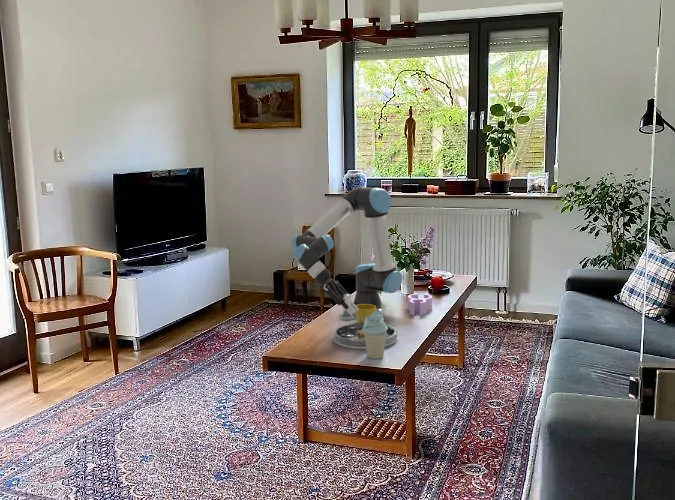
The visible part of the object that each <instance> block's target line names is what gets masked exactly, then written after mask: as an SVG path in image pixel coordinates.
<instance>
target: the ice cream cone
mask: <svg viewBox="0 0 675 500" xmlns="http://www.w3.org/2000/svg"><path fill="white" fill-rule="evenodd" d="M384 320H385V319H384V316H383V317H382V314H381V312H380V310H378V309H377V312H373V313H372V314H370V315H369V316H368V318H367V321H368V323H365V326H363V329H362V331H364V336H365V342H366V348H367V350H366V354H367V358H368V359H372V360H377V359H382V358H384V357H385V355H384V354H385V348H386V347H385V342H386V330H387V329H388V327H387V326H386V325H387V324H386V322H385V321H384Z"/></svg>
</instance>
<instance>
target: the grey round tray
mask: <svg viewBox="0 0 675 500" xmlns="http://www.w3.org/2000/svg"><path fill="white" fill-rule="evenodd" d="M378 310H380V312H381V314H382V317H383V318H384V309H383V308H380V309H378ZM375 312H377V309H375ZM367 318H368V317H365V318H364V323H357V322H356V323H355V322H353V323H348V324H343V325H341V326H338V327H336V328H335V329H334V331H333V332H332V333H333V342H334V343H335V344H336V345H337V346H340V347H343V348H346V349H350V350H360V351H361V350H363V351H364V350H365V351H367V348H366V342H365V336H364V331H362V329H363V326H365V323H368V321H367ZM385 325H386V326H387V327H388V329H387V330H386V342H385V347H384V348H388V347H390V346H393V345H394V344H396V343H397V341H398V330H397V328H396V327H393V326H391V325H390V324H385Z"/></svg>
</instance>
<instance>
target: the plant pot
mask: <svg viewBox="0 0 675 500" xmlns="http://www.w3.org/2000/svg"><path fill="white" fill-rule="evenodd" d="M356 306H357V308H358V309H359V310H358V311H356V312H355V313H354V315H355V319H356V323H364V318H365V317H368V316H369V315H370V314H372V313H373V312H375V309H376V306H375V305H371V304H359V305H356Z"/></svg>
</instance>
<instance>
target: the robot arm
mask: <svg viewBox="0 0 675 500" xmlns="http://www.w3.org/2000/svg"><path fill="white" fill-rule="evenodd" d="M391 197H392V196H391V195H390V193H389V192H388V191H387V190H386V189H384V188H380V187H365V186H360V187H356V188H354V189H352V190H350V191H349V192H347V193H345V194H344V195H343V196H342V197H341V198H340V199H338V202H337V204H336V205H335V206H333V207H332V208H331V209H330V210H329V211H327V213H325V214H324V215H323V216H322V217H321V218H319V219H318V220H317V221H316V222H315V223H313V225H312V226H310V227H309V228H308V229H307V230H305V232H304V233H302V234H295V235H294V236H293V237H292V239H291V246H292V249H294V251H293V252H292V255H293V257H294V258H295V259H296V261H297V262H298V263H299V264H300V265H301V267H302V268H303V269H304V270H306V272H307V273H308V274H309V276H311V277H312V278H313V279H314V281H315V282H316V283H317V285H319V286H321V285H322V286H323V287H322V291H323V292H325V293H326V294H327V295H328V296H329V298H331V300H333V302H334V303H335V304H336V305H338V306H339V307H340V306H341V307H342V308H343V307H344V309H345V310H346V311H347V312H348V313H349V314H350V315H352V314H355V312H356V311H358V310H359V309H358V308H357V306H356V305H359V304H371V305H375V306H376V309H383V308H382V307H383V302H382V299H381V295H380V294H379V292H383V293H385V294H394V293H396V292H397V291H398V290H399V289H400V288H401V286H402V284H403V283H402V282H403V276H402V272H400V271H399V270H397V267H396V263H394V262H393V259H392V258H393V257H392V252H391V246H390V240H389V238H390V237H389V232H388V224H387V216H388V214H389V211H390V209H391V206H392V198H391ZM359 211H362V212H363V214H364V217H365V219H367V220H368V225H369V234H370V239H371V246H372V253H373V259H374V263H373V262H372V263H363V264H358V265H357V266H356V267H355V290H356V291H355V296H354V300H353V301H352V300H351V306H350V305H349V304H348V303H347V301H344V299H343V294H349V292H348V291H347V290H346V289H345V288H344V286H342V284H341V283H340V281H339V280H338V279H336V280H335V279H333V278H332V277H331V276H332V272H331V271H330V270H329V269H328V268H327V267H326V266H325V264H323V262H322V261H321V260H320V258H322V257H323V256H324V255H326V254H327V253H329V252H330V250H332V249H333V248H334V245H335V242H334V239H333V238H332V237H331V236H330V235H328V233H329V232H331V231H332V230H333V229H334V228H336V226H338V224H339V223H341V222H342V221H343V220H345V218H346V217H347V216H352V215H353V214H354V213H355V212H359Z"/></svg>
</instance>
